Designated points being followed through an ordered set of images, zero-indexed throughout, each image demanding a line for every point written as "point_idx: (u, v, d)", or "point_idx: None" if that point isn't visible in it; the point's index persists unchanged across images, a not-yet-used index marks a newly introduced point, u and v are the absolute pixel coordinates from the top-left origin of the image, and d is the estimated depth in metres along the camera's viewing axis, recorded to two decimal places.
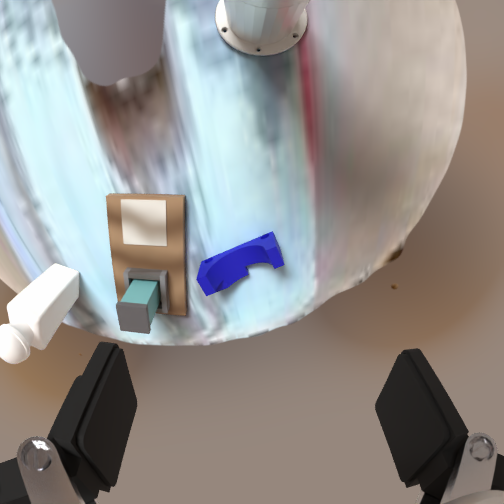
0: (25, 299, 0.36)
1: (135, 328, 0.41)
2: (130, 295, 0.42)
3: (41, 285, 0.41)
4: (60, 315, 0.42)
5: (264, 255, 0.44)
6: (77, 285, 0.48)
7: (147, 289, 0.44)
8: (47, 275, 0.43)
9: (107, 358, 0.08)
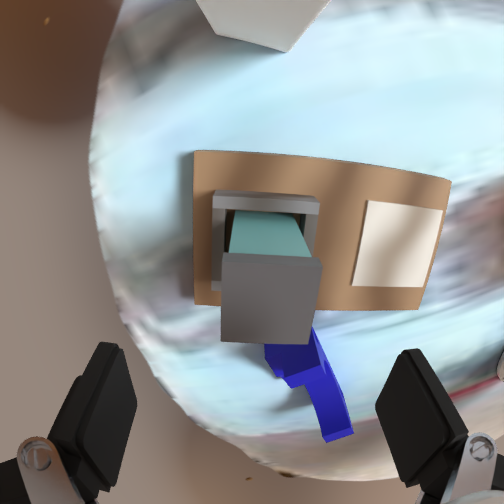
0: None
1: (235, 310, 0.14)
2: None
3: None
4: None
5: (328, 410, 0.28)
6: (255, 41, 0.17)
7: None
8: None
9: (107, 358, 0.08)
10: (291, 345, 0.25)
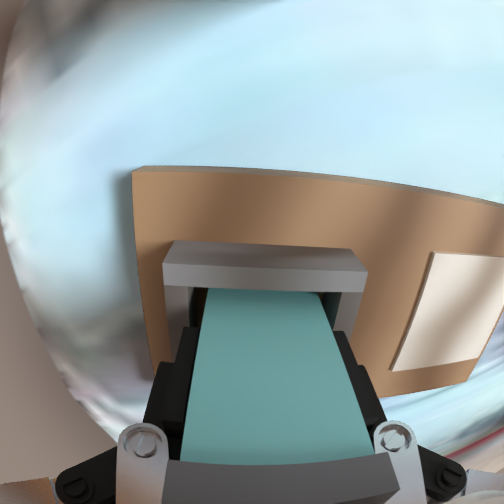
0: None
1: None
2: None
3: None
4: None
5: None
6: None
7: None
8: None
9: (196, 341, 0.09)
10: None
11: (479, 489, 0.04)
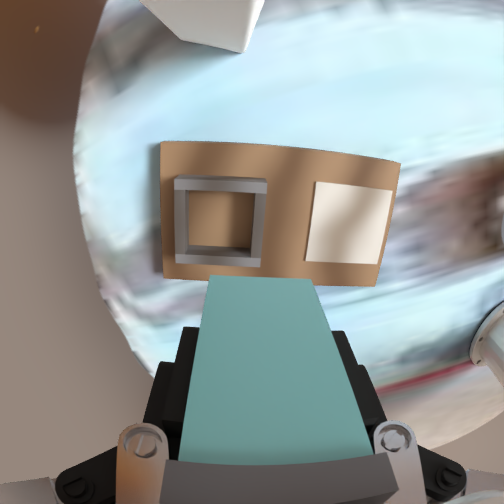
0: None
1: None
2: None
3: None
4: (177, 14, 0.13)
5: None
6: (214, 45, 0.20)
7: None
8: None
9: (196, 341, 0.09)
10: None
11: (478, 489, 0.04)
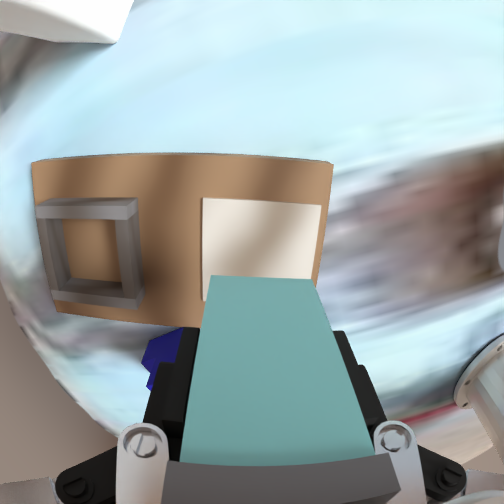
0: None
1: None
2: None
3: None
4: None
5: None
6: (81, 40, 0.14)
7: None
8: None
9: (196, 341, 0.09)
10: (166, 350, 0.22)
11: (478, 489, 0.04)
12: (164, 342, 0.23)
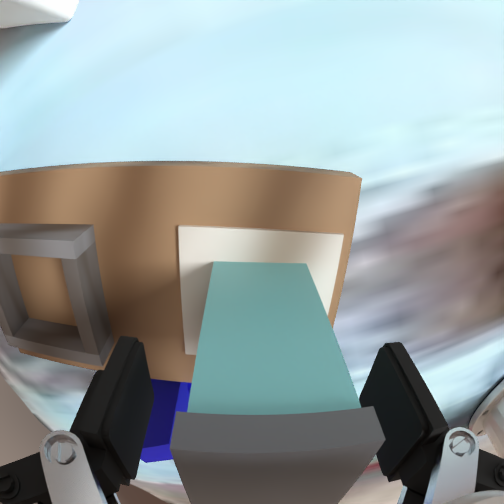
0: None
1: (211, 492, 0.06)
2: None
3: None
4: None
5: None
6: (28, 22, 0.09)
7: None
8: None
9: (129, 351, 0.08)
10: None
11: None
12: None
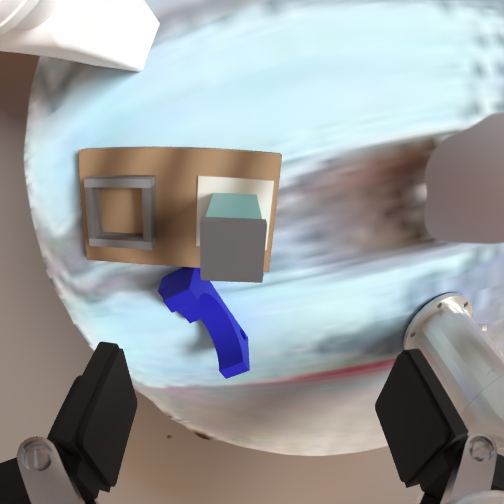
0: None
1: (209, 255, 0.21)
2: None
3: (131, 17, 0.16)
4: (66, 58, 0.17)
5: (226, 347, 0.34)
6: None
7: None
8: (145, 20, 0.19)
9: (107, 358, 0.08)
10: (177, 279, 0.31)
11: None
12: (175, 275, 0.32)
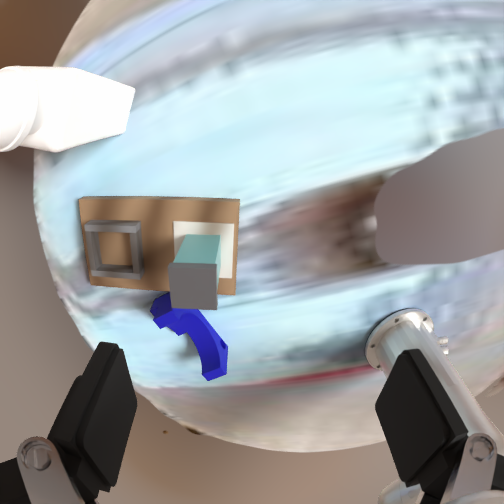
0: (84, 96, 0.19)
1: (176, 291, 0.28)
2: None
3: (106, 101, 0.24)
4: None
5: (208, 355, 0.41)
6: None
7: (218, 274, 0.33)
8: (120, 95, 0.26)
9: (107, 358, 0.08)
10: (164, 301, 0.38)
11: None
12: (163, 298, 0.40)
